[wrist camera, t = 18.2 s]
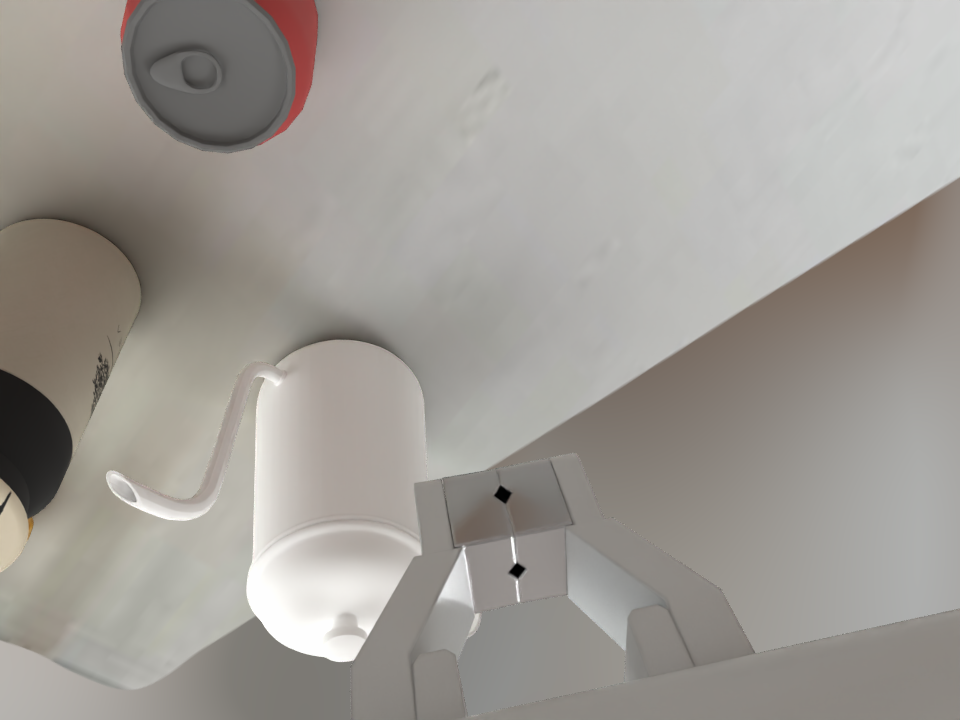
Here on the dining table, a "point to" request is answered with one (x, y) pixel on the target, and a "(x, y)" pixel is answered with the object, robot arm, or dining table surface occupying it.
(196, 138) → the beer can
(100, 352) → the travel mug
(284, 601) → the coffeepot
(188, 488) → the dining table surface
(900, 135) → the dining table surface
